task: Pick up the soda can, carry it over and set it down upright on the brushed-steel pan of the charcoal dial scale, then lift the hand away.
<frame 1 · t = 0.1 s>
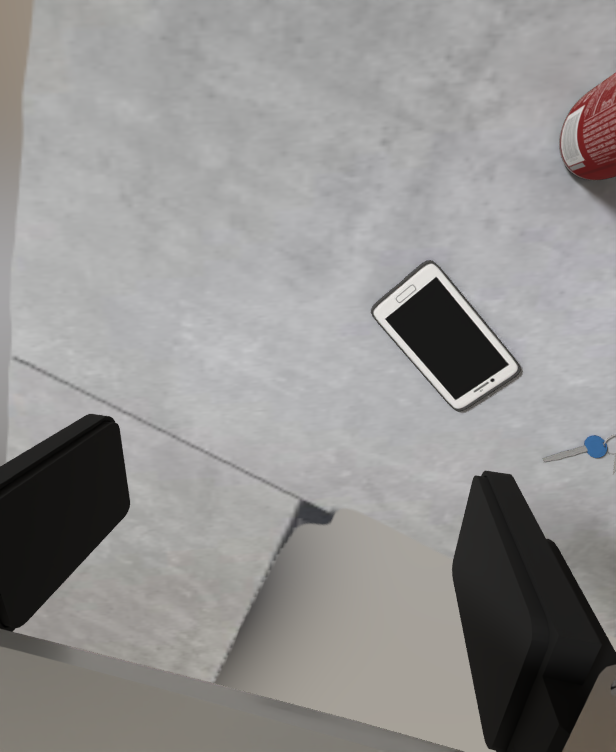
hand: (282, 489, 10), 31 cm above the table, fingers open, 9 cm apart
soda can: (601, 135, 31), on the table
cell phone: (443, 337, 39), on the table
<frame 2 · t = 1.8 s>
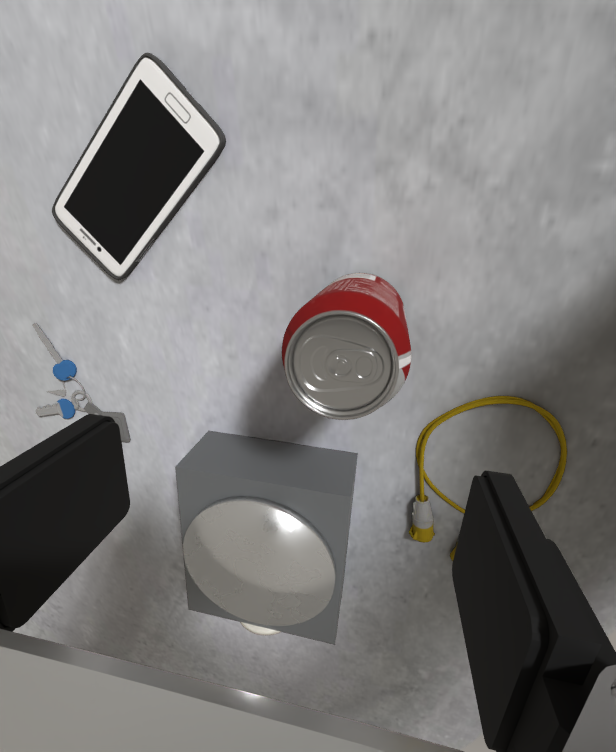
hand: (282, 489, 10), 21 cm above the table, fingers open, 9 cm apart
extension cord: (471, 472, 33), on the table
key chain: (72, 398, 38), on the table
soda can: (359, 316, 29), on the table
scale pan: (257, 564, 32), point 6 cm above the table, slide at -0.5 cm, touching scale
scale: (278, 512, 37), on the table
cell phone: (139, 180, 29), on the table
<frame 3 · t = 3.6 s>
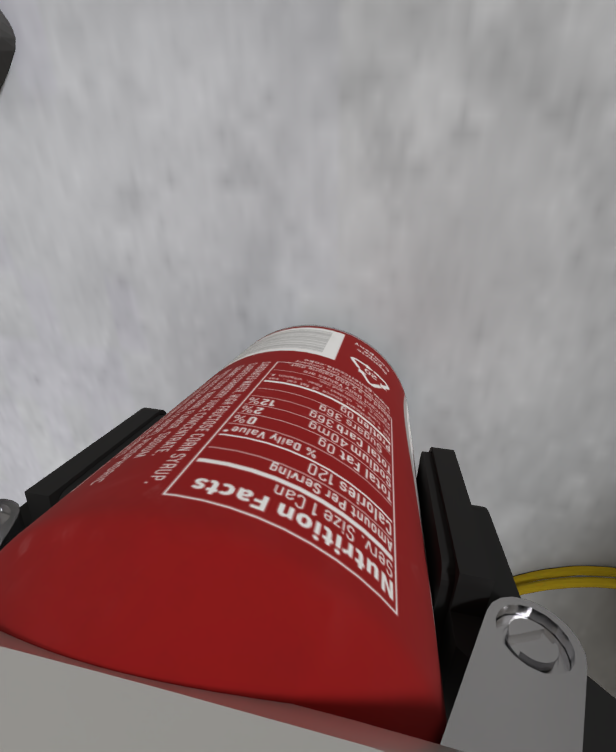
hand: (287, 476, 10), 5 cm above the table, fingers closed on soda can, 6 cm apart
extension cord: (528, 672, 18), on the table
soda can: (317, 405, 15), on the table, touching gripper
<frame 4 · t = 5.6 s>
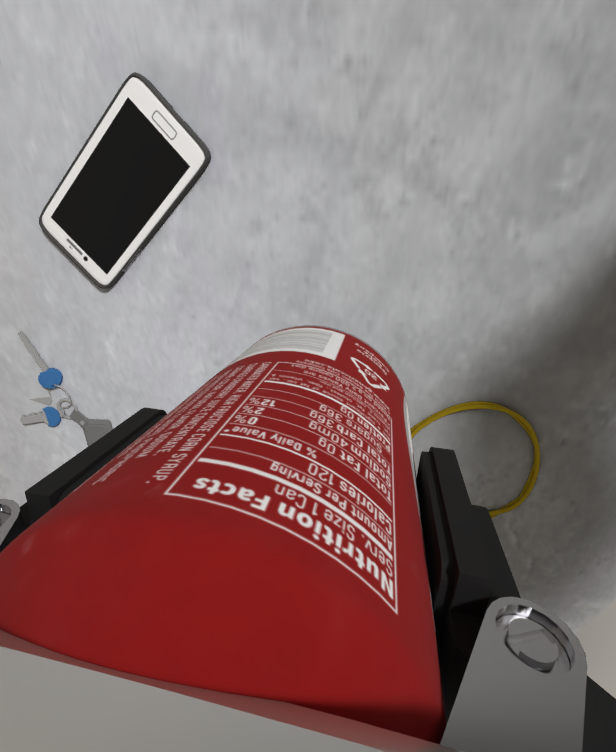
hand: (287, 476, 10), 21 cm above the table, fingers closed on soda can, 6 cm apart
extension cord: (452, 475, 34), on the table
key chain: (58, 406, 39), on the table
soda can: (317, 405, 15), point 17 cm above the table, touching gripper
cell phone: (126, 193, 30), on the table
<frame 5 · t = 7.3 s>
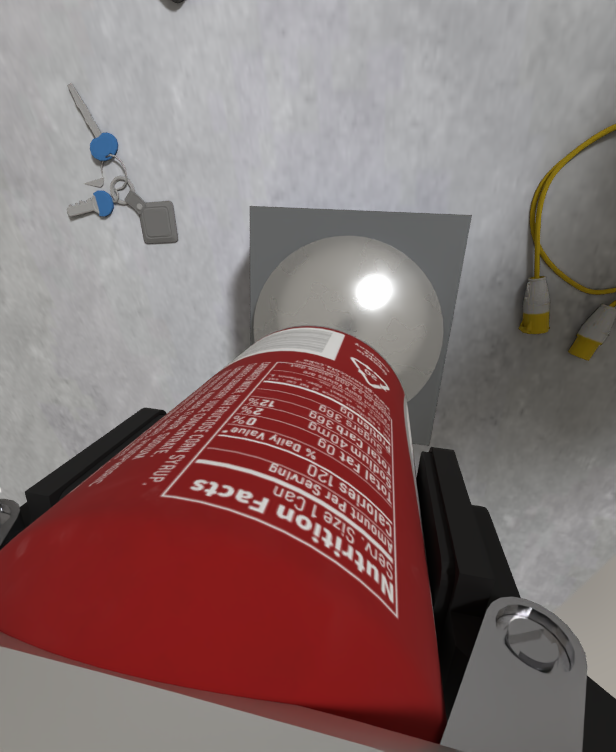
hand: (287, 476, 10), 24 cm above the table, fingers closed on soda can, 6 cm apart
extension cord: (594, 240, 28), on the table
key chain: (110, 193, 33), on the table
soda can: (317, 405, 15), point 19 cm above the table, touching gripper
scale pan: (344, 334, 26), point 6 cm above the table, slide at -0.5 cm, touching scale
scale: (352, 317, 32), on the table
when the fingers open (13 cm above the table, at t = 9.8 s): soda can drops 2 cm, resting on scale pan.
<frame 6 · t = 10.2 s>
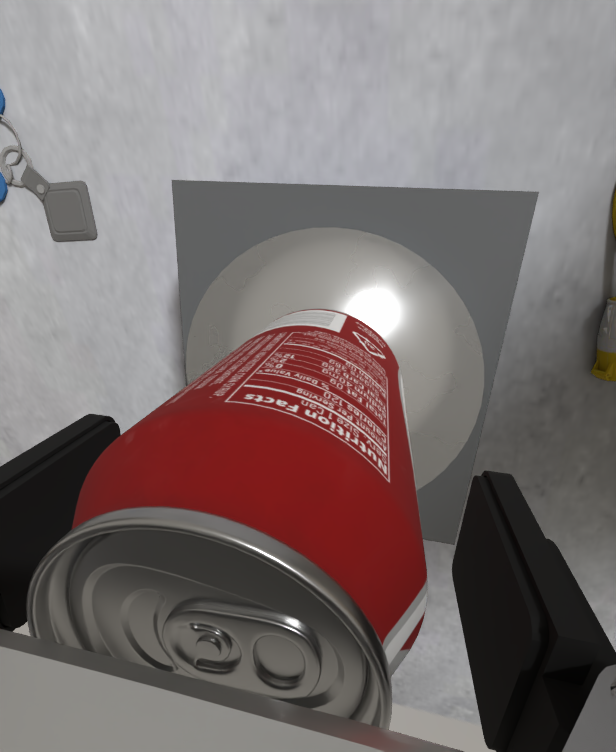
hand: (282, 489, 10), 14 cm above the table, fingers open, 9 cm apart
key chain: (3, 170, 24), on the table
soda can: (322, 381, 17), point 7 cm above the table, touching scale pan
scale pan: (325, 383, 17), point 6 cm above the table, slide at -0.5 cm, touching scale, soda can
scale: (341, 345, 23), on the table
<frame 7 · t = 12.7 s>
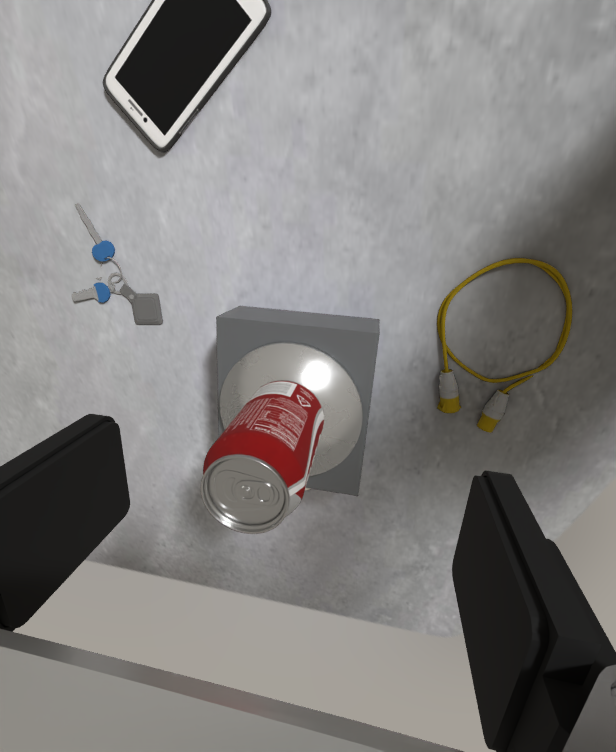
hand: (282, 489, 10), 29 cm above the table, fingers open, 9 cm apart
extension cord: (488, 341, 36), on the table
key chain: (107, 283, 41), on the table
soda can: (288, 411, 34), point 7 cm above the table, touching scale pan
scale pan: (289, 412, 34), point 6 cm above the table, slide at -0.5 cm, touching scale, soda can
scale: (302, 387, 40), on the table
cell phone: (187, 54, 33), on the table
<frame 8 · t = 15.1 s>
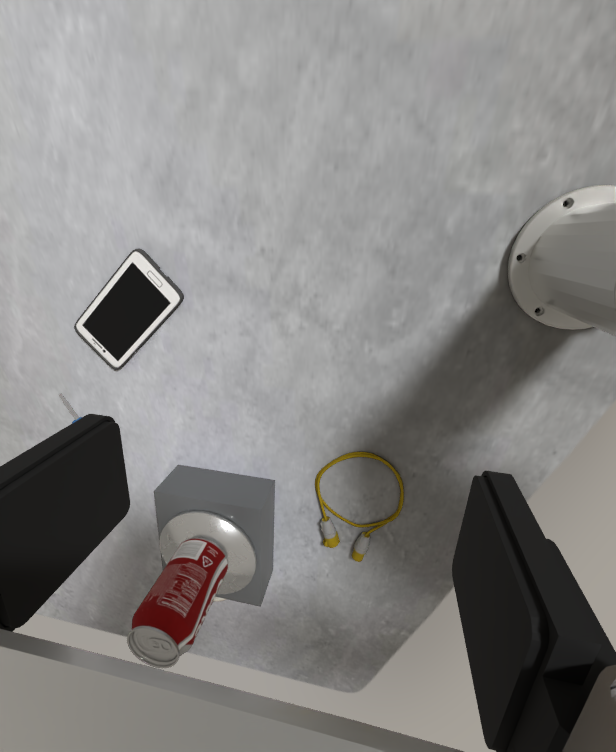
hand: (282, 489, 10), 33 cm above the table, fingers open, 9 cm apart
extension cord: (354, 498, 50), on the table
soda can: (206, 553, 49), point 7 cm above the table, touching scale pan
scale pan: (207, 553, 49), point 6 cm above the table, slide at -0.5 cm, touching scale, soda can
scale: (226, 519, 55), on the table
cell phone: (131, 311, 47), on the table
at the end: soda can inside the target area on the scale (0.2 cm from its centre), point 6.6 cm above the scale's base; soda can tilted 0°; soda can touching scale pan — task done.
